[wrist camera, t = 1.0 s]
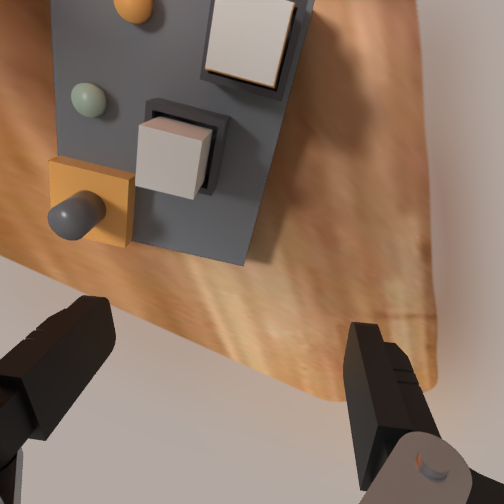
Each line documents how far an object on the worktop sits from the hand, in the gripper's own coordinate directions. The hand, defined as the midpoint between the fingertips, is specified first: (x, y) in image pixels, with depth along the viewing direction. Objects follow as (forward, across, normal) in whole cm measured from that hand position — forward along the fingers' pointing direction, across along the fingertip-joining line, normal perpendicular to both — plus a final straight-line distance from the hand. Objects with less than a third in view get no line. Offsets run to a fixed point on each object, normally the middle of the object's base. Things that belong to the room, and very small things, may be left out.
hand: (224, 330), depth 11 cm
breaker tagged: (+17, +2, -10) cm, 20 cm away
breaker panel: (+22, +9, -4) cm, 24 cm away
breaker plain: (+17, +7, -3) cm, 18 cm away
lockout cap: (+19, +16, +2) cm, 25 cm away
